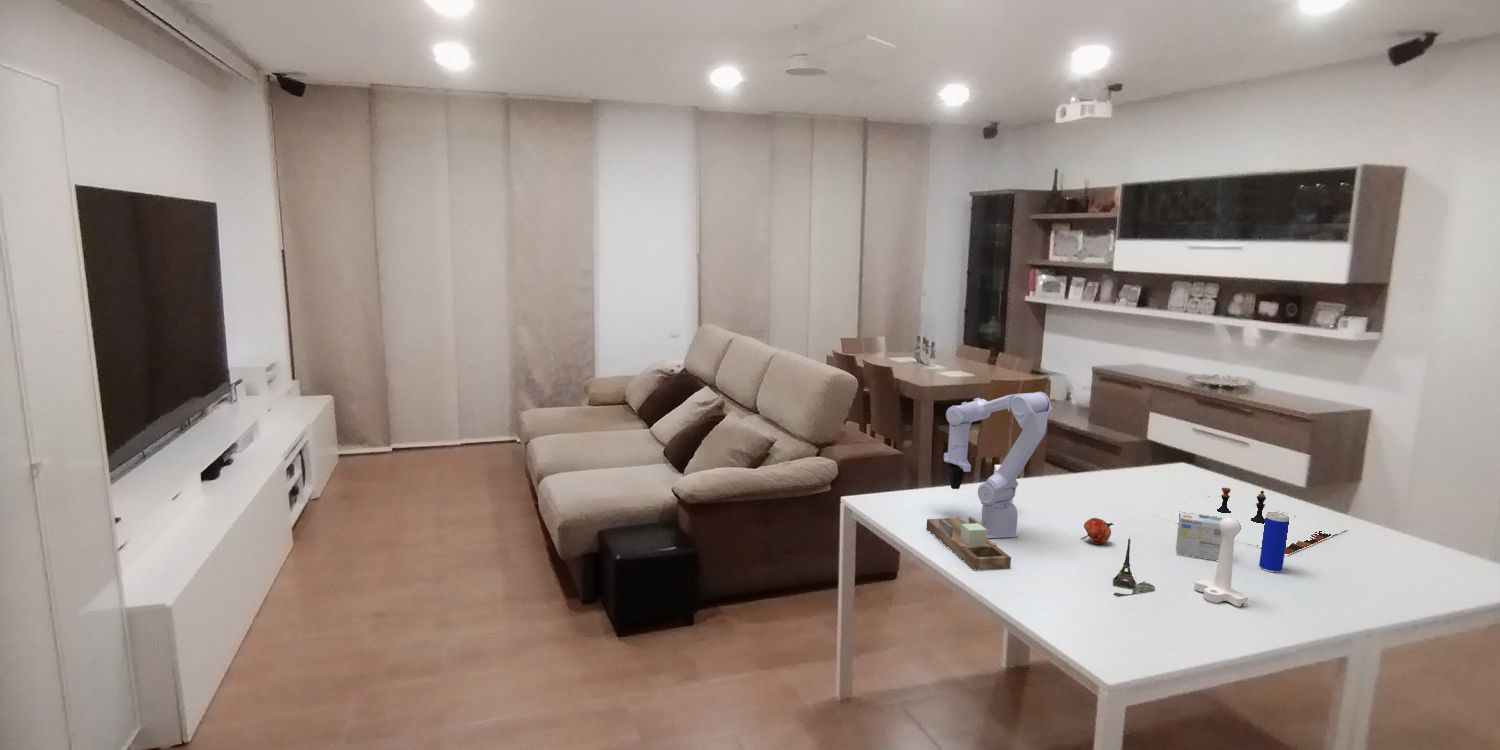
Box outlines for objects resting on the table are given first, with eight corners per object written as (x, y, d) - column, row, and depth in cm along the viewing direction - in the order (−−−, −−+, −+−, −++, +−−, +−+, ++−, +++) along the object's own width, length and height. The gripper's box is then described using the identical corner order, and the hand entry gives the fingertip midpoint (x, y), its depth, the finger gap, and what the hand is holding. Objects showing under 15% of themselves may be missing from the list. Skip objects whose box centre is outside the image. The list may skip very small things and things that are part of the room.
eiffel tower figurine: (1117, 599, 193) (1122, 546, 191) (1086, 582, 203) (1091, 531, 201) (1165, 591, 199) (1171, 539, 196) (1132, 575, 208) (1138, 525, 206)
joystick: (1249, 604, 191) (1260, 523, 188) (1231, 611, 187) (1241, 528, 184) (1203, 586, 201) (1213, 509, 197) (1185, 592, 197) (1194, 513, 194)
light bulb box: (1218, 554, 223) (1223, 516, 221) (1220, 562, 217) (1225, 523, 215) (1174, 547, 227) (1178, 510, 226) (1175, 555, 221) (1180, 517, 220)
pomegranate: (1082, 552, 228) (1114, 538, 222) (1069, 528, 230) (1100, 513, 225) (1091, 548, 233) (1123, 534, 228) (1078, 524, 236) (1109, 510, 230)
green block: (977, 539, 221) (978, 523, 220) (985, 545, 216) (987, 529, 215) (960, 539, 220) (961, 524, 219) (968, 546, 215) (969, 530, 214)
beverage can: (1278, 567, 214) (1286, 512, 212) (1284, 574, 210) (1292, 519, 207) (1256, 564, 216) (1263, 510, 214) (1261, 571, 211) (1269, 516, 209)
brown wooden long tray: (958, 527, 239) (959, 507, 238) (1010, 568, 209) (1012, 546, 208) (926, 528, 237) (927, 509, 236) (974, 570, 207) (975, 548, 206)
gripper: (935, 439, 249) (932, 481, 251) (956, 451, 235) (953, 496, 237) (957, 438, 251) (954, 481, 253) (978, 450, 236) (975, 495, 239)
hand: (955, 488), depth 245 cm, fingers closed
